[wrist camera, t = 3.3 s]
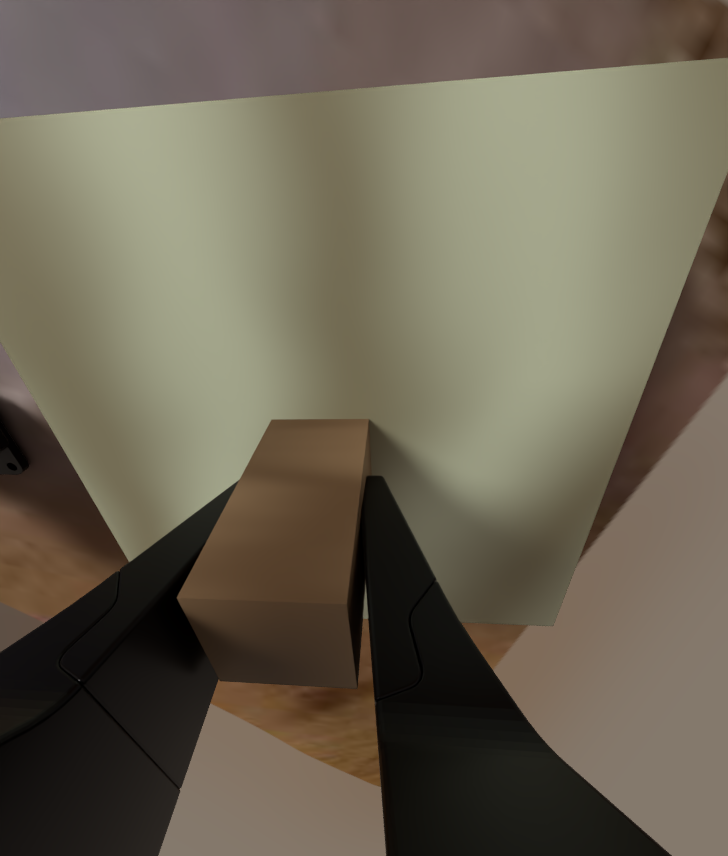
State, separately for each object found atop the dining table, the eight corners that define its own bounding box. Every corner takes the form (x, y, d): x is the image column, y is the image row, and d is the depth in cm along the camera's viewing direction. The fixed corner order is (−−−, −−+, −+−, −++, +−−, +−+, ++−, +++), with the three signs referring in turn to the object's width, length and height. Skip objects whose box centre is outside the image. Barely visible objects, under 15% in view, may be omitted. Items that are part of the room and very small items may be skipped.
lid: (165, 596, 16) (64, 775, 11) (-90, 132, 7) (-921, 44, 3) (547, 610, 14) (622, 822, 9) (742, 64, 6) (1880, -328, 1)
